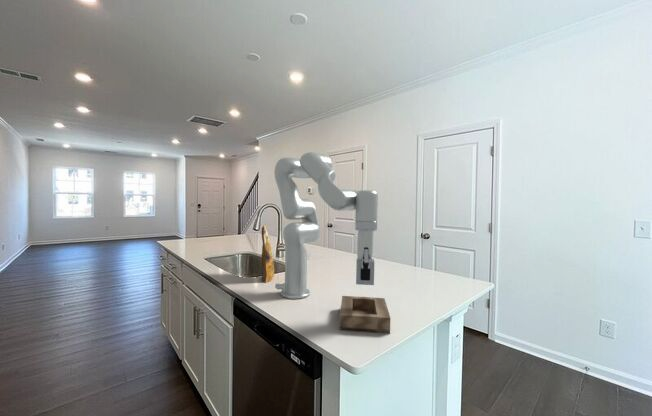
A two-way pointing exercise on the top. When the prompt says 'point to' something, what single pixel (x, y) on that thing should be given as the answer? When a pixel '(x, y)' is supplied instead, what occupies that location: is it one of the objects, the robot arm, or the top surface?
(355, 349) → the top surface
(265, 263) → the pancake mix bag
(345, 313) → the walnut well
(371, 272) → the tall blue-grey block
